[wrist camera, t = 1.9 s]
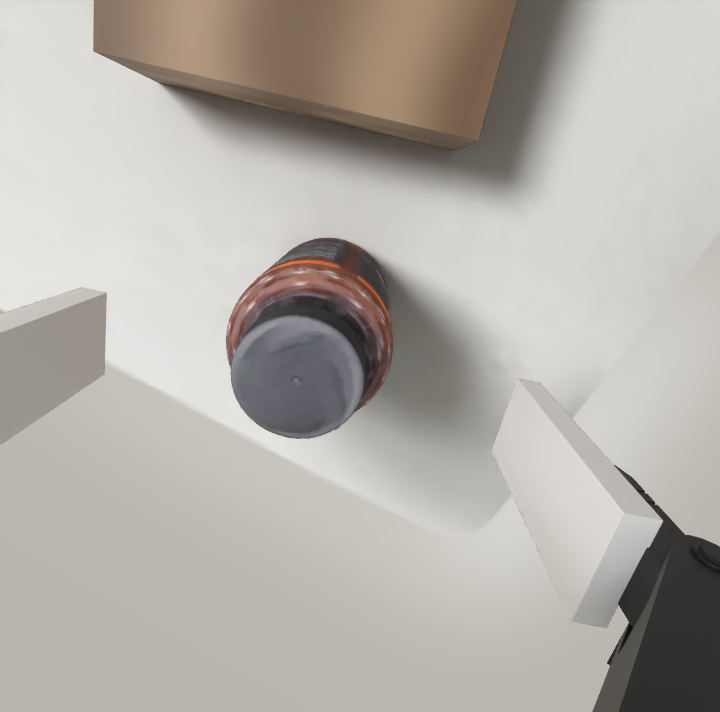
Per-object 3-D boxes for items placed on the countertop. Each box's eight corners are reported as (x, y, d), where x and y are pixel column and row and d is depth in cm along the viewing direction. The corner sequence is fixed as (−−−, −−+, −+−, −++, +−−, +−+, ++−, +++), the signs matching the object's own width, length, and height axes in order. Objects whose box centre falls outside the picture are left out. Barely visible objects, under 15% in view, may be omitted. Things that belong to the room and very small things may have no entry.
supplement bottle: (249, 282, 24) (150, 357, 13) (341, 210, 23) (310, 231, 12) (320, 369, 26) (281, 498, 15) (410, 307, 24) (437, 401, 14)
